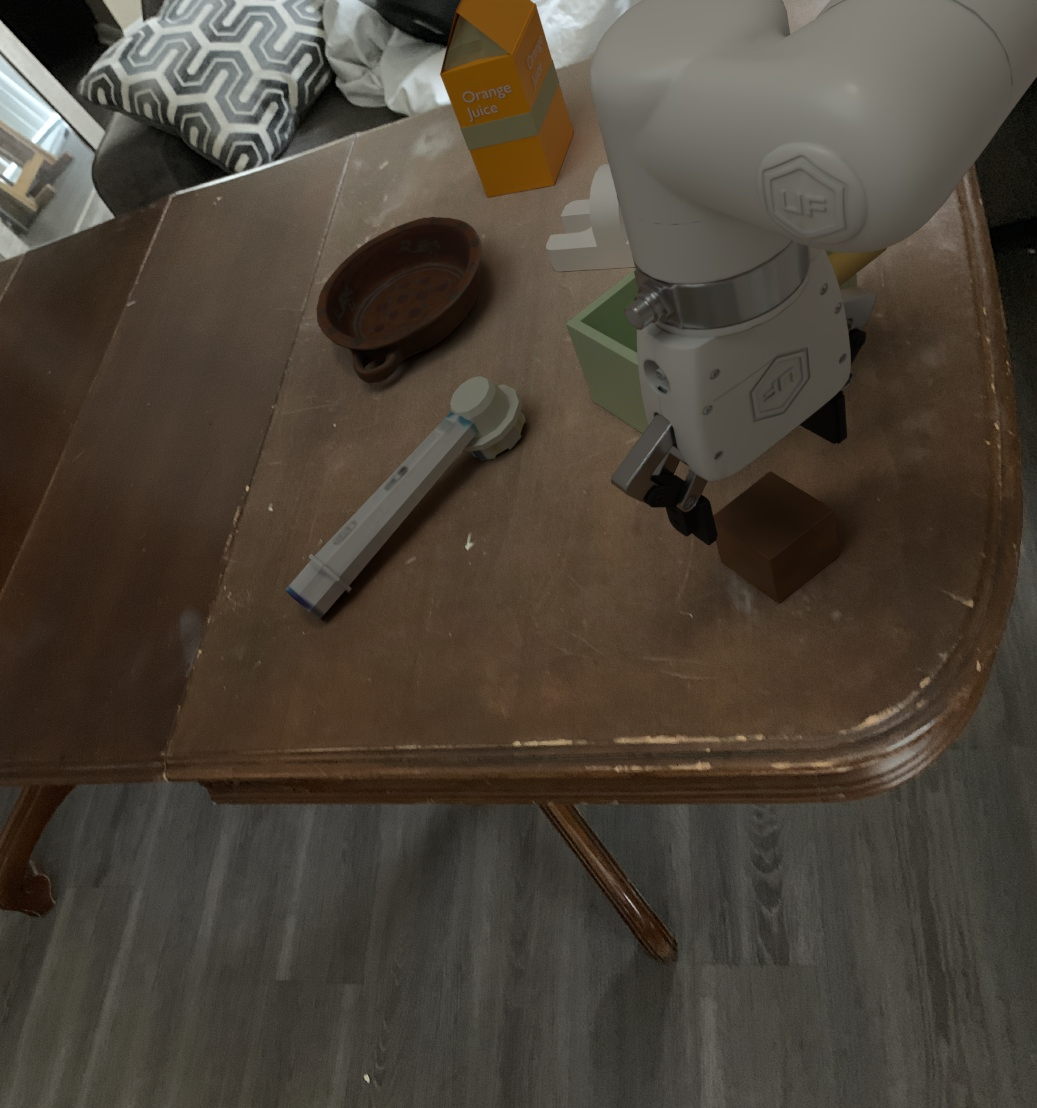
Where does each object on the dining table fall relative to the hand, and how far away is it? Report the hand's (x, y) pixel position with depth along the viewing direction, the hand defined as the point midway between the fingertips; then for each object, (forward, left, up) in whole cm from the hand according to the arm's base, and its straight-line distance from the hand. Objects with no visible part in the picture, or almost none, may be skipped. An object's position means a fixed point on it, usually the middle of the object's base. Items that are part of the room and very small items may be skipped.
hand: (758, 480), depth 57 cm
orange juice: (+32, -49, -8) cm, 59 cm away
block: (0, 0, -8) cm, 8 cm away
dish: (+38, -27, -8) cm, 47 cm away
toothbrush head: (+28, -2, -8) cm, 29 cm away
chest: (+7, -18, -8) cm, 21 cm away
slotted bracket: (+18, -34, -8) cm, 39 cm away
